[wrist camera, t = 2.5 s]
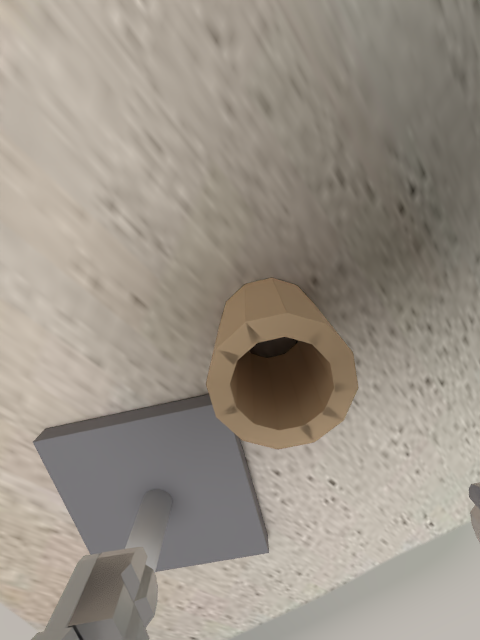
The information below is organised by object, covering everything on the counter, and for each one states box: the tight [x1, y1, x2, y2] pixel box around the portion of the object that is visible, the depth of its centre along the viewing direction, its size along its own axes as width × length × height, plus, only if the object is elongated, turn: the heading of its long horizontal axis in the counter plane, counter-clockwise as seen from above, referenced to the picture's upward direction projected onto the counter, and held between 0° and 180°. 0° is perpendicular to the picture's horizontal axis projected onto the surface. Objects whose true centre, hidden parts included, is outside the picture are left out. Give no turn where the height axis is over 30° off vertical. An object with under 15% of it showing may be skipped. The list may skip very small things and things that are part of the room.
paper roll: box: [206, 278, 358, 449], centre depth 18 cm, size 6×6×8 cm
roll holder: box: [33, 395, 269, 573], centre depth 22 cm, size 14×14×8 cm
